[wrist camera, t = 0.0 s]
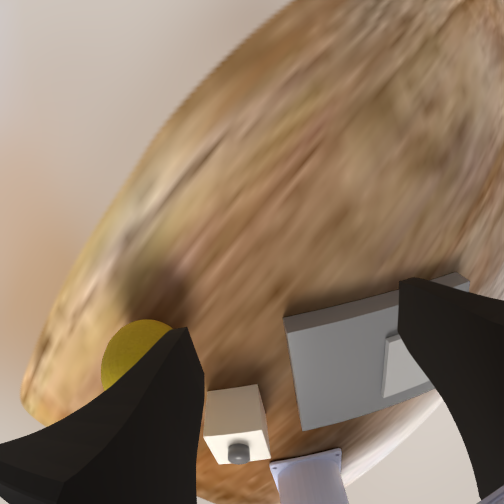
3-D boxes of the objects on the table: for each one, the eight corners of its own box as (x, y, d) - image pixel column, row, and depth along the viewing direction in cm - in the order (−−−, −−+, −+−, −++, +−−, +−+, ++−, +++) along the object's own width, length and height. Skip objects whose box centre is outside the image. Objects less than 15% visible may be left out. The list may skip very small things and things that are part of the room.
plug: (265, 414, 24) (272, 468, 18) (220, 421, 24) (218, 473, 18) (257, 383, 23) (262, 440, 17) (207, 391, 23) (202, 447, 17)
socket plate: (440, 370, 24) (449, 381, 22) (298, 415, 24) (302, 431, 22) (455, 271, 20) (469, 280, 19) (282, 317, 21) (286, 333, 19)
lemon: (177, 290, 20) (147, 364, 12) (207, 353, 21) (198, 436, 14) (111, 310, 20) (64, 379, 12) (145, 367, 22) (118, 443, 14)
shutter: (438, 371, 21) (452, 388, 19) (380, 393, 21) (392, 414, 19) (449, 315, 19) (467, 332, 17) (385, 338, 19) (400, 359, 17)
